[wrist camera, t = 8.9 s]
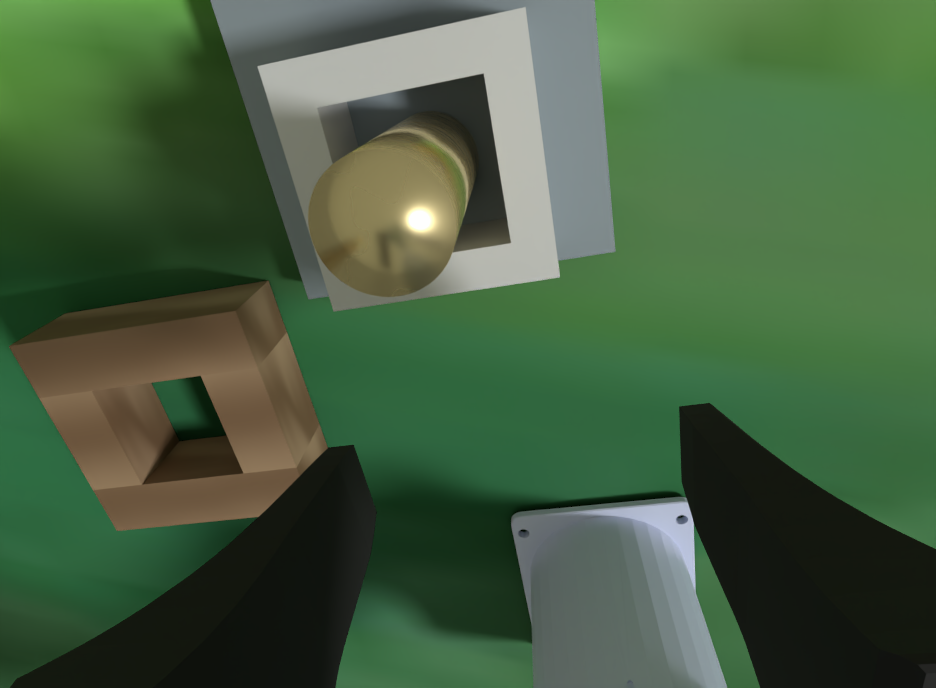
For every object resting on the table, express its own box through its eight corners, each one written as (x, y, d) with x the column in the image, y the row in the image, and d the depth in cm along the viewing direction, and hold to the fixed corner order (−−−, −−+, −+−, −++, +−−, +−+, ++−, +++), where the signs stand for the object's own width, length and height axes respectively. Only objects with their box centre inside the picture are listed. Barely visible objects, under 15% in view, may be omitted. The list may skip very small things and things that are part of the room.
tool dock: (609, 239, 21) (644, 309, 15) (320, 284, 23) (253, 364, 17) (554, -392, 14) (579, -695, 9) (148, -263, 16) (-63, -444, 10)
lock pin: (483, 202, 19) (465, 290, 12) (395, 212, 20) (327, 302, 13) (472, 105, 18) (444, 139, 11) (378, 117, 18) (291, 159, 11)
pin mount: (334, 465, 27) (313, 511, 24) (155, 485, 28) (117, 531, 25) (268, 280, 23) (235, 310, 20) (65, 313, 24) (8, 346, 21)
